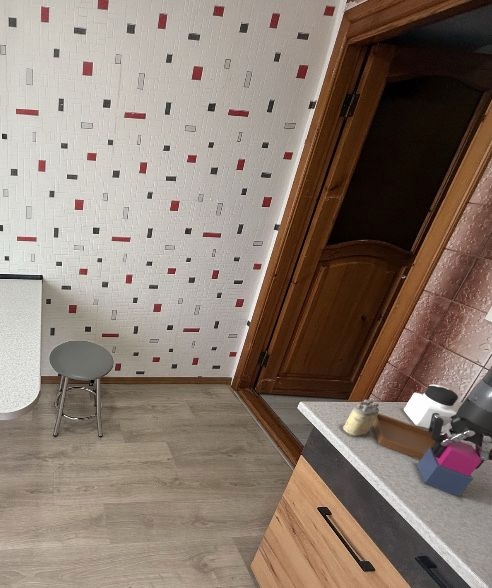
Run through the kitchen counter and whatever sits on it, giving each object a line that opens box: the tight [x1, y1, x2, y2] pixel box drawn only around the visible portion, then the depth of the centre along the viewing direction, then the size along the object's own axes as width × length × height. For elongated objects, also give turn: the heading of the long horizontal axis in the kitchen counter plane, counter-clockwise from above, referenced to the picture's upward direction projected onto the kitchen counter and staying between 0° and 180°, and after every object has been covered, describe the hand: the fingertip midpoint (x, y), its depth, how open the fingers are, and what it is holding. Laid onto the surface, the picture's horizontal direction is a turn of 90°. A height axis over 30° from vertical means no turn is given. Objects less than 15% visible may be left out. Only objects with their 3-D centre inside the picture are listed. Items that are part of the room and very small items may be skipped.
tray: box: [372, 412, 435, 461], centre depth 90 cm, size 14×12×2 cm
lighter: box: [342, 399, 380, 437], centre depth 91 cm, size 7×4×10 cm, turn 105°
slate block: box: [416, 448, 474, 497], centre depth 79 cm, size 6×6×6 cm
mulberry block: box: [436, 441, 482, 476], centre depth 76 cm, size 5×5×5 cm
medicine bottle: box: [403, 383, 459, 433], centre depth 96 cm, size 7×7×12 cm
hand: (451, 460), depth 77 cm, fingers closed on mulberry block, 5 cm apart
